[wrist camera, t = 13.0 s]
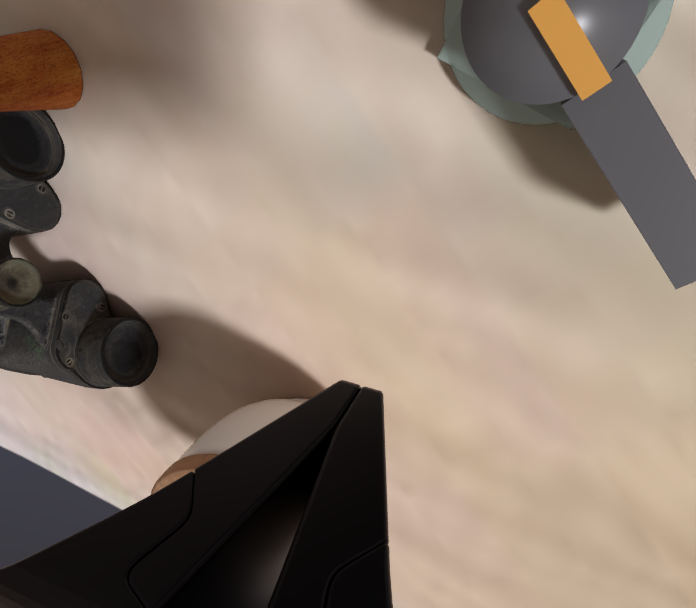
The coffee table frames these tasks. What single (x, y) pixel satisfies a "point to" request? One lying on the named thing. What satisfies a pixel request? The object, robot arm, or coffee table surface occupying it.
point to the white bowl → (227, 435)
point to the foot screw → (593, 104)
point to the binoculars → (59, 297)
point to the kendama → (38, 72)
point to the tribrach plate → (542, 113)
